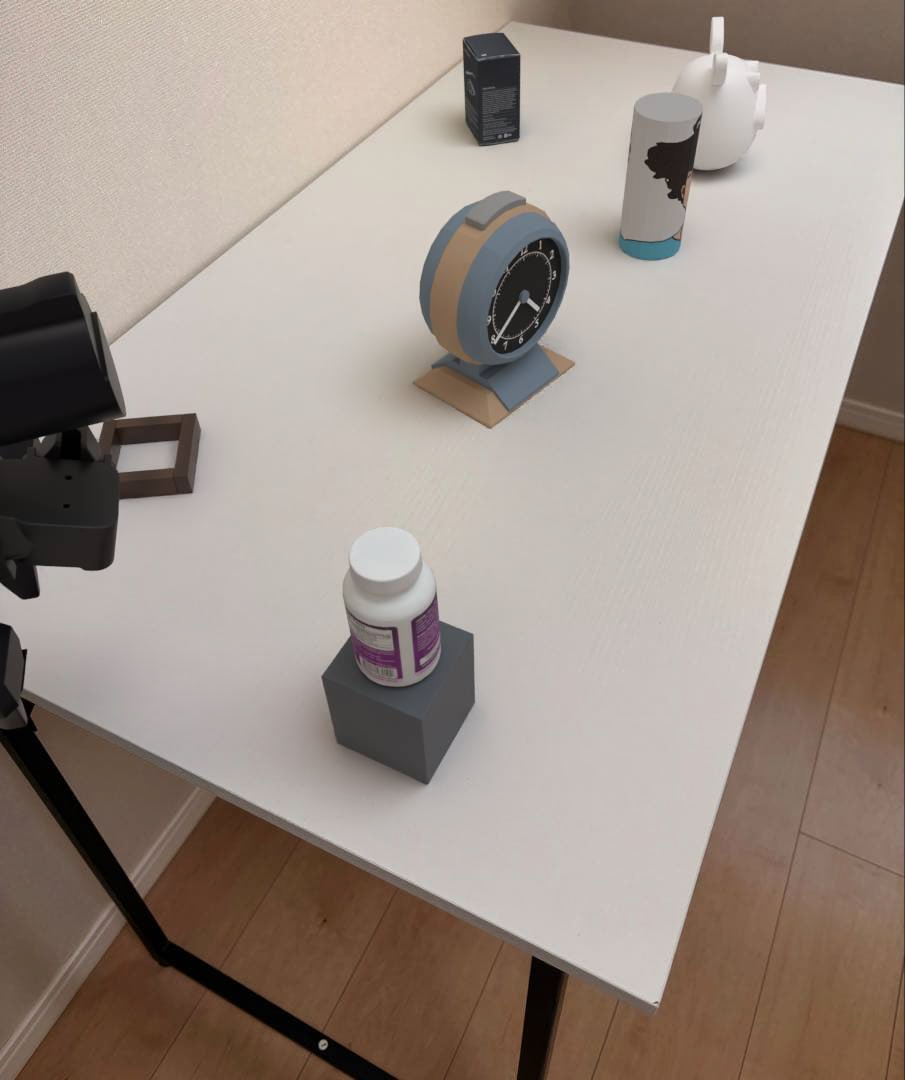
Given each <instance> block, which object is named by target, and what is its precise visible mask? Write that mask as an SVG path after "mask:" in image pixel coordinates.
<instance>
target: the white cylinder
mask: <svg viewBox="0 0 905 1080" xmlns="http://www.w3.org/2000/svg"><path fill="white" fill-rule="evenodd" d="M702 113H703V106H702V104H701V103H700V102H699V101H698V100H697V99H695V98H692V97H690V96H687V95H683V94H679V93H671V92H669V91H667V92H665V91H664V92H654V93H649V94H648V93H647V94H646V95H643V96H641V97H639V98H638V99H636V100H635V103H634V105H633V111H632V121H631V129H630V138H629V148H628V155H627V156H628V157H627V165H626V173H625V181H624V190H623V191H624V192H623V199H622V210H621V217H620V218H621V219H620V226H619V234H618V235H619V236H618V246H619V248H620V249H621V251H622V252H624V253H625V254H627V255H629V256H630V257H632V258H636V259H639V260H645V261H659V260H664V259H668V258H671V257H672V256H675V255H676V254H677V253H678V252H679V251H680V247H681V243H682V237H683V231H684V225H685V220H686V214H687V207H688V202H689V195H690V189H691V183H692V177H693V170H694V168H693V166H694V160H695V154H696V149H697V143H698V137H699V131H700V125H701V119H702Z"/></svg>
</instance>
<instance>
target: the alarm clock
mask: <svg viewBox="0 0 905 1080" xmlns="http://www.w3.org/2000/svg"><path fill="white" fill-rule="evenodd" d="M422 266H423V267H422V269H421V270H422V271H421V275H420V280H419V292H418V293H419V295H418V300H419V305H420V310H421V315H422V318H423V319H424V322H425V324H426V326H427V328H428V329H429V332H430V333H431V335H433V336H434V337H435V340H436V342H437V344H438V345H439V346H440V347H441V348H443V349H444V350H445V351H446V352H447V354H445V355H444V356H443V357H441V358H440V359H438V360H437V361H436V362H434V363H433V364H431V365H430V367H431V369H428V371H426V372H425V373H424V374H423V373H422V375H420V376H419V377H418V378H416V379H415V380H413V381H412V384H413V385H415V386H417V387H419V388H421V389H422V390H424V391H425V392H427V393H428V394H431V395H432V396H434V397H436V398H437V399H439V400H441V401H443V402H444V403H446V404H447V405H449V406H451V407H453V408H455V409H456V410H458V411H459V412H462V413H463V414H465V415H466V416H469V417H470V418H472V419H473V420H474V421H477V422H479V423H481V424H482V425H484V426H485V427H487V428H489V429H492V428H494V427H495V426H497V424H499V423H500V422H501V421H503V420H504V419H506V418H507V417H508V416H510V415H511V414H512V413H513V412H514V411H516V410H517V409H519V408H520V407H521V406H522V405H524V404H525V403H526V402H528V401H530V399H532V398H533V397H534V396H536V395H537V394H538V393H540V392H541V391H542V390H543V389H545V388H546V387H547V386H549V385H550V384H551V383H553V382H554V381H555V380H557V379H558V378H559V377H560V376H562V375H563V374H564V373H567V371H569V370H570V369H571V368H572V367H574V366H575V365H576V362H575V361H574V360H572V359H570V358H568V357H565V356H564V355H562V354H559V353H558V352H556V351H554V350H552V349H550V348H549V347H546V346H544V345H542V344H540V343H539V341H540V340H541V339H542V338H543V337H544V335H545V334H546V333H547V331H548V330H549V328H550V327H551V325H552V323H553V321H554V320H555V318H556V316H557V314H558V311H559V309H560V307H561V305H562V303H563V299H564V296H565V293H566V290H567V286H568V281H569V275H570V267H571V266H570V251H569V248H568V244H567V241H566V239H565V236H564V235H563V233H562V231H561V230H560V229H559V227H558V225H557V224H556V223H555V222H553V221H552V220H551V218H550V217H549V215H548V214H547V212H546V211H545V210H543V209H541V208H539V207H538V206H536V205H533V204H531V203H528V202H527V198H526V197H525V196H523V195H520V194H518V193H515V192H513V191H511V190H500V191H497V192H494V193H492V194H490V195H488V196H485V197H484V198H483V199H480V200H477V201H475V202H472V203H470V204H468V205H465V206H463V207H462V208H461V209H459V210H458V211H457V212H456V213H454V214H453V215H452V216H451V217H450V218H449V219H448V221H447V222H445V224H444V225H443V226H442V227H441V228H440V230H439V232H438V233H437V235H436V237H435V238H434V240H433V242H432V244H431V245H430V248H429V250H428V252H427V255H426V257H425V260H424V262H423V265H422Z"/></svg>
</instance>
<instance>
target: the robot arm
mask: <svg viewBox="0 0 905 1080" xmlns="http://www.w3.org/2000/svg"><path fill="white" fill-rule="evenodd" d="M100 319H101V318H100V317H99V314H98V312H97V311H92V309H91V306H90V304H89V301H88V300H87V298H86V296H85V294H84V293H83V292H81V291H80V287H79V286H78V282H77V279H76V277H75V275H74V273H72V272H70V271H68V270H67V271H62V272H61V271H60V272H57V273H51V274H48V275H43V276H39V277H37V278H35V279H33V280H30V281H28V282H26V283H24V284H23V283H22V284H20V285H16V286H11V287H6V288H2V289H1V288H0V584H1V586H3V588H6V589H7V590H8V591H10V592H11V593H12V594H13V595H15V596H16V597H18V599H20V600H23V601H27V600H31V599H32V600H33V599H37V598H39V597H40V595H41V587H40V581H39V575H38V568H37V567H55V568H57V567H58V568H78V569H81V570H82V571H85V572H98V571H103V570H105V569H108V568H109V567H110V566H111V565H112V564H113V563H114V562H115V561H114V560H115V554H116V553H115V552H116V545H117V544H116V543H117V535H118V526H119V525H118V524H119V516H120V515H119V514H120V513H119V511H120V499H119V482H120V476H119V473H120V471H118V469H117V467H116V464H115V463H114V462H112V454H104V458H103V457H102V456H101V454H100V453H101V448H100V445H99V440H97V438H96V436H95V435H94V432H92V430H91V427H90V426H93V425H97V424H101V423H102V424H103V422H106V421H110V420H118V419H123V418H126V417H127V408H126V403H125V398H124V394H123V390H122V386H121V383H120V379H119V374H118V372H117V369H116V365H115V361H114V358H113V355H112V351H111V349H110V346H109V343H108V339H107V337H106V333H105V330H104V327H103V325H102V322H101V320H100ZM40 438H43V439H42V440H40ZM27 657H28V649H27V648H23V649H22V645H21V640H20V637H19V636H18V634H17V633H16V631H15V629H14V628H13V626H12V625H10V624H8V623H7V624H6V623H3V622H0V729H3V730H15V729H19V728H25V727H27V725H28V720H29V719H28V716H27V713H26V709H25V706H24V704H23V701H22V699H21V695H23V694H22V693H23V691H24V685H25V676H26V667H27V659H28V658H27Z"/></svg>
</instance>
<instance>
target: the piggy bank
mask: <svg viewBox="0 0 905 1080" xmlns="http://www.w3.org/2000/svg"><path fill="white" fill-rule="evenodd" d="M710 21H711V22H710V32H709V33H710V35H709V54H705V55H702V56H699V57H697V58H695V59H693V60H692V61H690V62H689V63H687V64H686V65H685V66H684V67H683V69H682V70H681V71H680V73H679V74H678V76H677V78H676V80H675V82H674V84H673V86H672V88H671V92H670V93H679V94H683V95H687V96H690V97H692V98H695V99H697V100H698V101H699V102H700V103H701V104H702V106H703V113H702V119H701V125H700V131H699V137H698V143H697V149H696V154H695V160H694V166H693V170H699V171H715V170H720V169H723V168H726V167H729V166H730V165H733V164H734V163H736V162H737V161H739V160H741V158H743V157H744V156H745V154H747V153H748V151H749V150H750V148H751V147H752V145H753V144H754V141H755V139H756V136H757V132H758V131H760V130H764V127H765V123H766V111H767V88H768V86H767V84H766V83H761V72H759V60H743V59H742V58H740V57H738V56H735V55H732V54H728V53H727V52H723V51H724V41H725V39H724V38H725V18H724V16H713V17H711V20H710Z"/></svg>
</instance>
